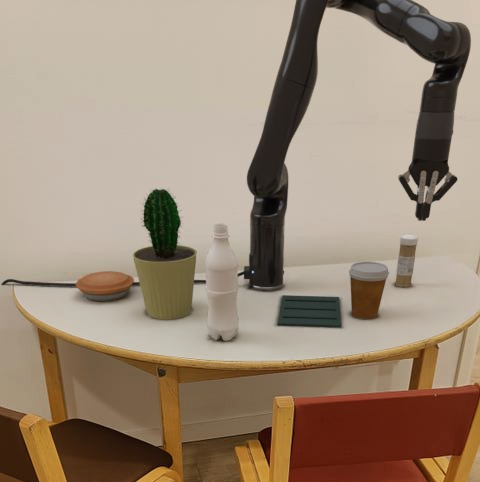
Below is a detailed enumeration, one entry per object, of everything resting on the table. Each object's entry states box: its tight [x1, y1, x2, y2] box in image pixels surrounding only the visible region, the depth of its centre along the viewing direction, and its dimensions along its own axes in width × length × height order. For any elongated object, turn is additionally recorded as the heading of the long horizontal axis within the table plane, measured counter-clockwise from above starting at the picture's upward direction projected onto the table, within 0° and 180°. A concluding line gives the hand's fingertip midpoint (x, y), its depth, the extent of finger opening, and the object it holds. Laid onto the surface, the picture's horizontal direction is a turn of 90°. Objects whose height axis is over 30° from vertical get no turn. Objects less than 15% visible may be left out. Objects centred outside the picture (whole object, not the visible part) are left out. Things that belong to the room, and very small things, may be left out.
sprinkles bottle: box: [394, 234, 419, 288], centre depth 164 cm, size 5×5×13 cm
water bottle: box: [204, 223, 240, 342], centre depth 131 cm, size 7×7×25 cm
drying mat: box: [277, 294, 342, 329], centre depth 151 cm, size 15×20×1 cm
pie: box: [74, 270, 135, 302], centre depth 162 cm, size 15×16×5 cm
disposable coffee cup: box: [348, 261, 390, 320], centre depth 146 cm, size 10×10×12 cm
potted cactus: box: [132, 188, 198, 320], centre depth 144 cm, size 15×15×30 cm
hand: (421, 219), depth 136 cm, fingers closed
